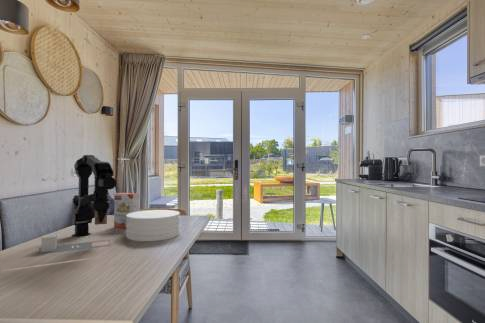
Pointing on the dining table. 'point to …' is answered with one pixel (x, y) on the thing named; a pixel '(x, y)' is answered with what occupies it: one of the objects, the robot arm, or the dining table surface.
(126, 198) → the cracker box
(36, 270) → the dining table surface
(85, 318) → the dining table surface
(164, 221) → the plate stack
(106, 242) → the board
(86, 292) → the dining table surface
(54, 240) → the grey block
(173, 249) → the dining table surface
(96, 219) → the walnut block
